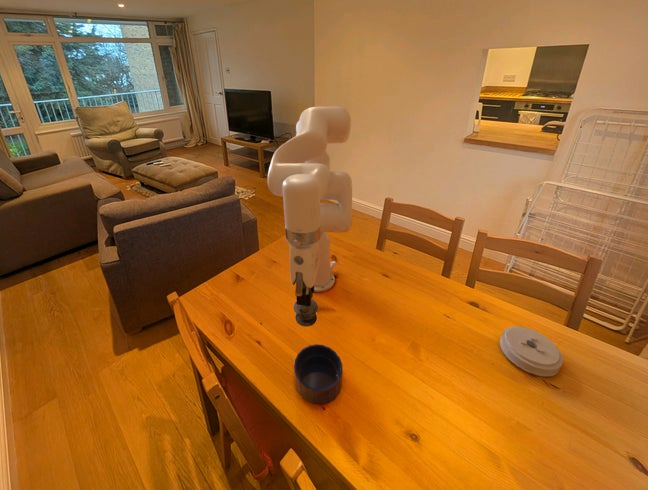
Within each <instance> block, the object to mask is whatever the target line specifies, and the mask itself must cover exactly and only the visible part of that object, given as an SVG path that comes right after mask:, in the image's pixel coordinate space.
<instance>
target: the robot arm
mask: <svg viewBox="0 0 648 490" xmlns="http://www.w3.org/2000/svg"><path fill="white" fill-rule="evenodd" d="M351 121H352V120H351V115H350V112H349V110H348V109H347V108H346V107H344V106H342V105H328V106H327V105H325V106H312V107H308V108H305V109H304V110H303V111H302V112H301V114H300V116H299V119H298V121H297V122H296V124H295V132H296V133H295V136H293V137H292V138H290V139H289V140H287V141H285V142H284V143H282V144H281V145H280V146H278V148H277V149H276V150H275V151H274V153H273V155H272V158H271V160H270V164H269V167H268V171H267V179H266V180H267V188H268V190H269V192H270V193H271V194H272V195H273V196H274V195H275V196H277V197H282V200H283V202H282V203H283V214H284V230H285V241H286V242H287V243H288V244H289V275H290V283H291V285H292V286H295V292H294V295H295V296H296V301H297V304H298V305H303V306H310V305H311V293H310V291H309V288H311V292H312V293H313V294H314V293H315V292H317V293H319V292H325V291H328V290H329V289H331V288H333V286H334V284H335V275H334V273H333V272H332V270H333V268H335V267H336V266H337V265H338V263H337V261H335V260H333V261H332V262H331V239H330V237H329V235H328V233H335V234H338V233H340V234H341V233H342V234H344V233H348V232H350V231H351V229H352V225H353V182H352V177H351V176H350V174H349V173H348V172H345V171H331V169H330V166H331V165H330V164H331V162H330V161H331V159H330V155H329V154H328V152H327V151H326V150H327V147H328V144H344V143H346V142H347V141H348V140H349V138H350V133H351V127H352V122H351ZM321 200H323V201H324V200H325V201H329V200H330V201H336V202H338V203H321ZM303 285H306V289H305V288H302V286H303Z"/></svg>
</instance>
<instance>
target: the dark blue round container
mask: <svg viewBox="0 0 648 490" xmlns="http://www.w3.org/2000/svg"><path fill="white" fill-rule="evenodd" d="M343 368H344V367H343V363H342V359H341V357H340V356H339V354H338V353H337V352H336V351H335V350H334V349H333V348H331V347H329V346H327V345H324V344H310V345H307V346H305V347H304V348H302V349H301V350H300V351H298V353H297V355H296V357H295V359H294V363H293V371H294V383H295V389H296V391H297V392H298V394H299V396H300V397H301V398H302V399H303V400H305V401H306V402H308V403H310V404H312V405H314V406H315V405H318V406H325V405H329V404H330V403H332V402H333V401H335V400H336V399H337V398H338V397H339V395H340V394H341V391H342V388H343V378H344V377H343V375H344V374H343V373H344V372H343V371H344V370H343Z"/></svg>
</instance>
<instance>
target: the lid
mask: <svg viewBox="0 0 648 490" xmlns="http://www.w3.org/2000/svg"><path fill="white" fill-rule="evenodd" d="M499 346H500V349H501V351H502V353H503V354H504V355H505V357H506V358H507V359H508V361H510V362H511V363H512V364H514V365H515V366H517V367H518V368H519V369H520V370H523V371H525V372H527V373H529V374H532V375H535V376H539V377H546V378H547V377H553V376H555V375H557V374H558V373H559V372H560V369H561V367H562V365H563V363H564V357H563V354H562V351H560V349H559V347H558V346H557V345H556V344H555V342H553V341H552V340H551V339H549V338H548V337H547V336H545V335H544V334H542V333H540V332H538V331H536V330H534V329H531V328H529V327H524V326H519V325H514V326H513V325H512V326H508V327H506V328H504V329H503V331H502V333H501V336H500V339H499Z"/></svg>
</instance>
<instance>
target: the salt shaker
mask: <svg viewBox="0 0 648 490" xmlns="http://www.w3.org/2000/svg"><path fill="white" fill-rule="evenodd" d="M302 288H305V289H306V285H303V286H302ZM309 291H310V293H311V305H310V306H303V305H298V304H297V300H296V301H295V302H294V304H293V312H294V313H295V322H296V323H297V324H298V325H299V326H301V327H304V328H305V327H307V328H308V327H311V326H313V325H315V324H316V322H317V320H318V316H317V312H318V309H319V305H318V303H317V301H315V300H314V299H313V297H314V293H312V292H311V288H309Z"/></svg>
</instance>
